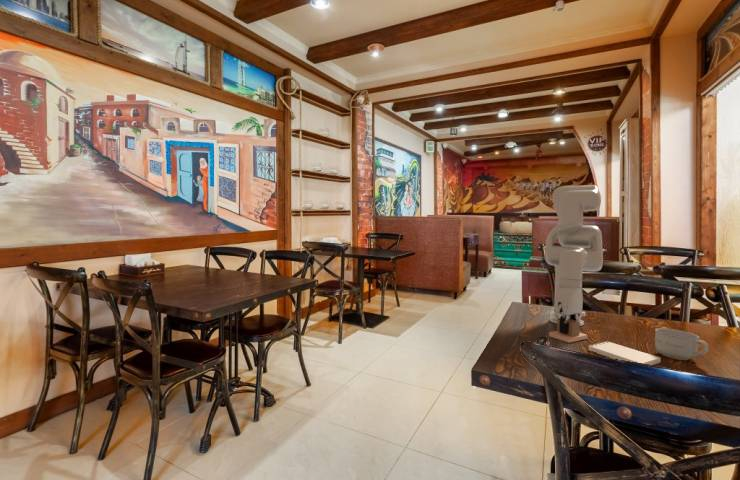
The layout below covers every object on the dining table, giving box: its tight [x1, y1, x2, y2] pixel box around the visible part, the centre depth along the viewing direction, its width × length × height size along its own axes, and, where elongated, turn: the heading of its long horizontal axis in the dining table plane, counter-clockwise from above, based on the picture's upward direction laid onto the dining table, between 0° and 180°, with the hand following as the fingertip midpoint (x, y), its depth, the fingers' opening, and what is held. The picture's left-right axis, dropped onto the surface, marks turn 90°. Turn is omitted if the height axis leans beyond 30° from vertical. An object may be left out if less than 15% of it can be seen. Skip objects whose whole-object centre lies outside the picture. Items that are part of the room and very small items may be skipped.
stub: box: [548, 319, 588, 344], centre depth 133 cm, size 10×8×6 cm
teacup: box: [654, 327, 710, 361], centre depth 114 cm, size 14×11×8 cm
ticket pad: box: [588, 341, 662, 366], centre depth 116 cm, size 10×16×2 cm, turn 26°
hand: (568, 331), depth 133 cm, fingers closed on stub, 4 cm apart
